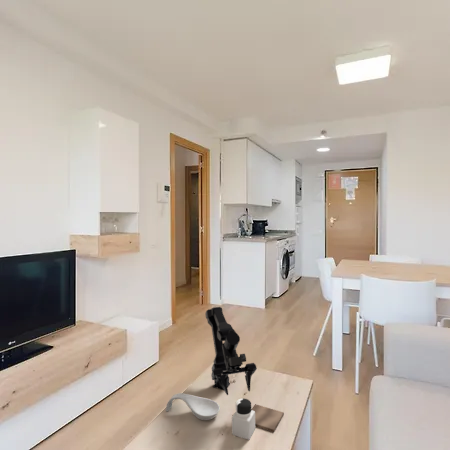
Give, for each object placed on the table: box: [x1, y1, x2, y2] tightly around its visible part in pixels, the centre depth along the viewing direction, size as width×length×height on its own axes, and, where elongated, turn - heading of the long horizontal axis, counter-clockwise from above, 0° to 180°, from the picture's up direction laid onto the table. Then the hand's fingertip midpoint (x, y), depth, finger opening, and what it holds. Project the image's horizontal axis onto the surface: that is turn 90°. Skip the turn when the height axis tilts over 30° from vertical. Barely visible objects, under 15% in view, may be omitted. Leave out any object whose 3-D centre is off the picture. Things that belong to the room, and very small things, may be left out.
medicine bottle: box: [231, 398, 256, 441], centre depth 123 cm, size 7×7×12 cm
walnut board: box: [251, 403, 285, 433], centre depth 131 cm, size 13×12×1 cm
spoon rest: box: [165, 392, 221, 421], centre depth 136 cm, size 24×12×7 cm, turn 74°
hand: (238, 393), depth 129 cm, fingers open, 9 cm apart
